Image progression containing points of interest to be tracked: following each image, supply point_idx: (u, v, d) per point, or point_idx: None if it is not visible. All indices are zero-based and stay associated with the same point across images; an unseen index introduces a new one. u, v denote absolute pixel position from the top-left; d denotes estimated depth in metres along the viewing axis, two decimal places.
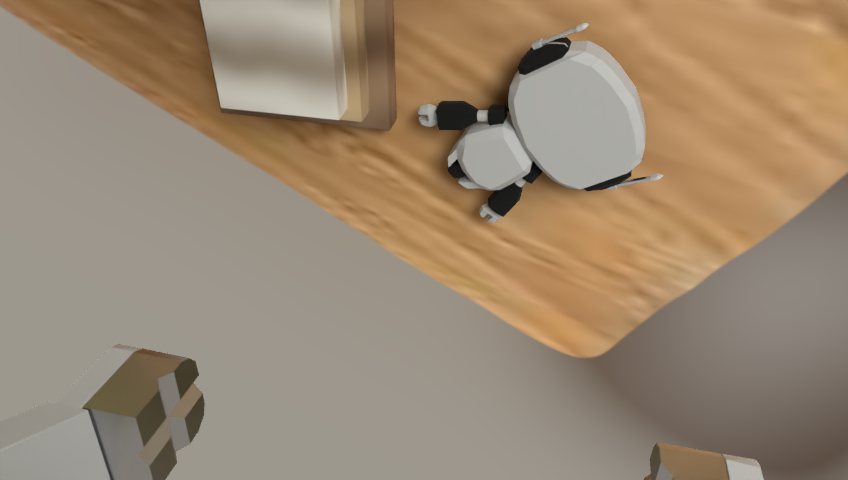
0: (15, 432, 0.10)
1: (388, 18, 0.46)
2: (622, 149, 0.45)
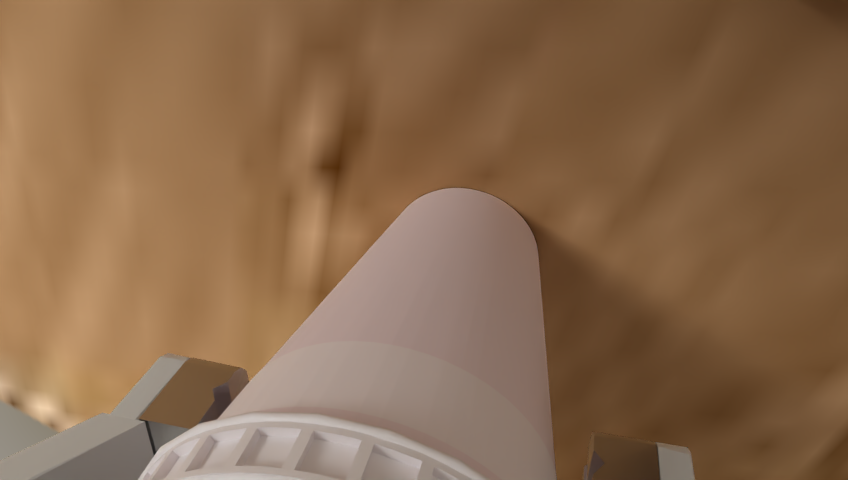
0: (74, 445, 0.10)
1: None
2: None
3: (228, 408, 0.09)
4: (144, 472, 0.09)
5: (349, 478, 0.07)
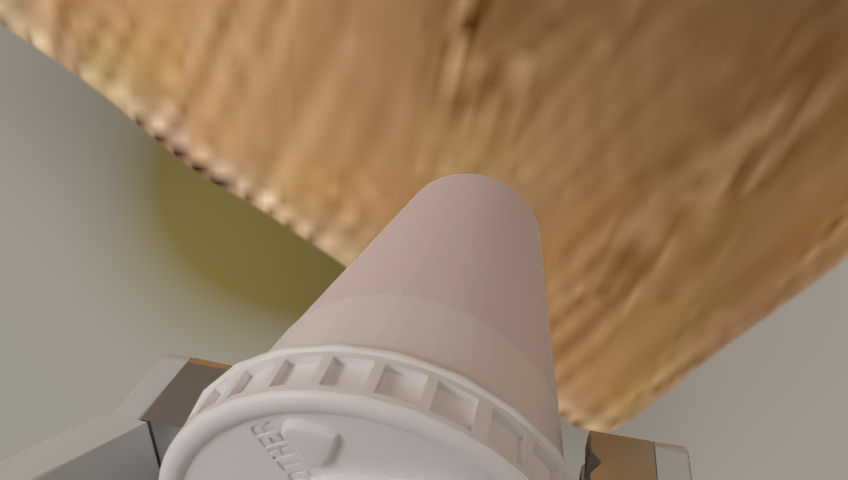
0: (76, 445, 0.10)
1: None
2: None
3: None
4: (190, 415, 0.10)
5: (365, 390, 0.08)
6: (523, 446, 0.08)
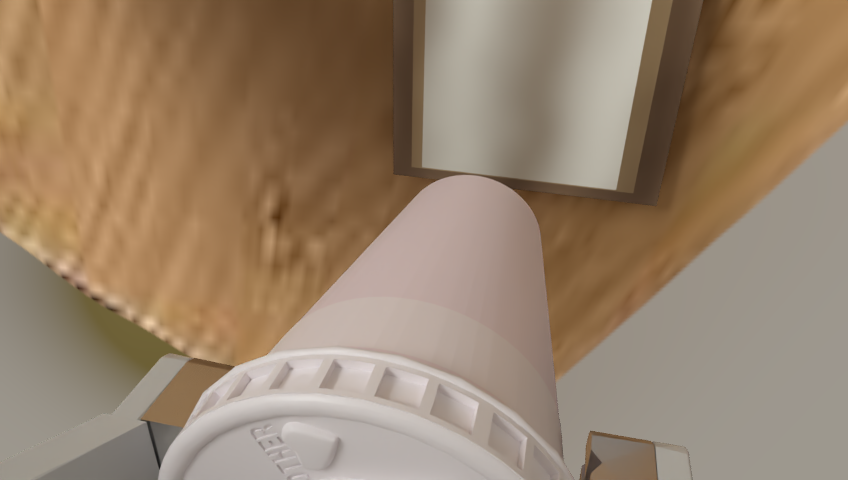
0: (76, 445, 0.10)
1: None
2: None
3: None
4: (190, 417, 0.10)
5: (366, 393, 0.08)
6: (523, 450, 0.08)
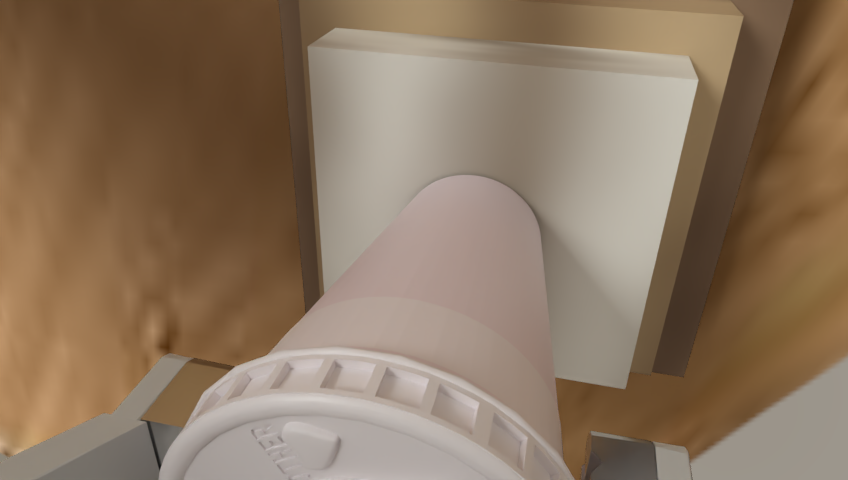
0: (75, 445, 0.10)
1: None
2: None
3: None
4: (190, 417, 0.10)
5: (366, 392, 0.08)
6: (524, 450, 0.08)
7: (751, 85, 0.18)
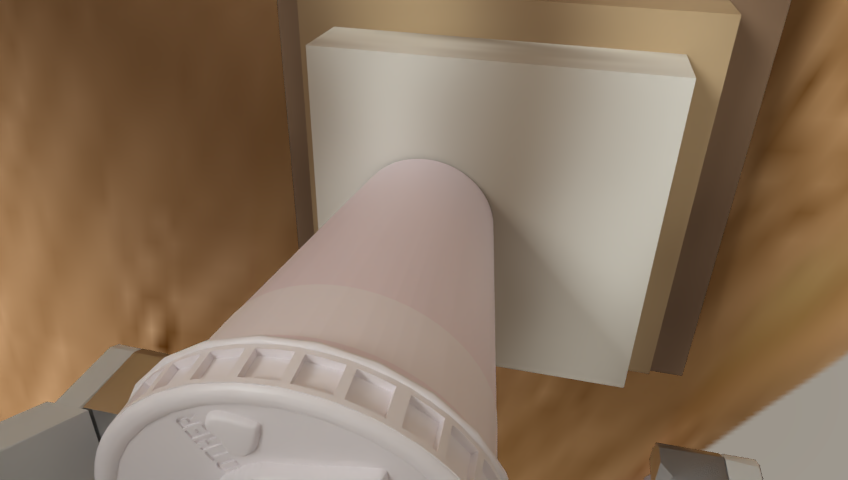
0: (16, 432, 0.10)
1: None
2: None
3: None
4: None
5: (283, 381, 0.08)
6: (441, 430, 0.09)
7: (749, 84, 0.18)
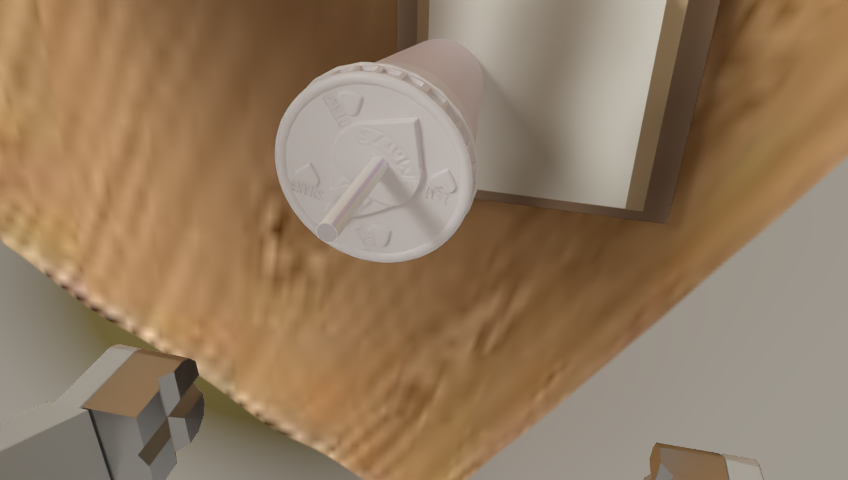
0: (15, 432, 0.10)
1: None
2: None
3: None
4: None
5: (375, 74, 0.19)
6: None
7: (707, 7, 0.28)
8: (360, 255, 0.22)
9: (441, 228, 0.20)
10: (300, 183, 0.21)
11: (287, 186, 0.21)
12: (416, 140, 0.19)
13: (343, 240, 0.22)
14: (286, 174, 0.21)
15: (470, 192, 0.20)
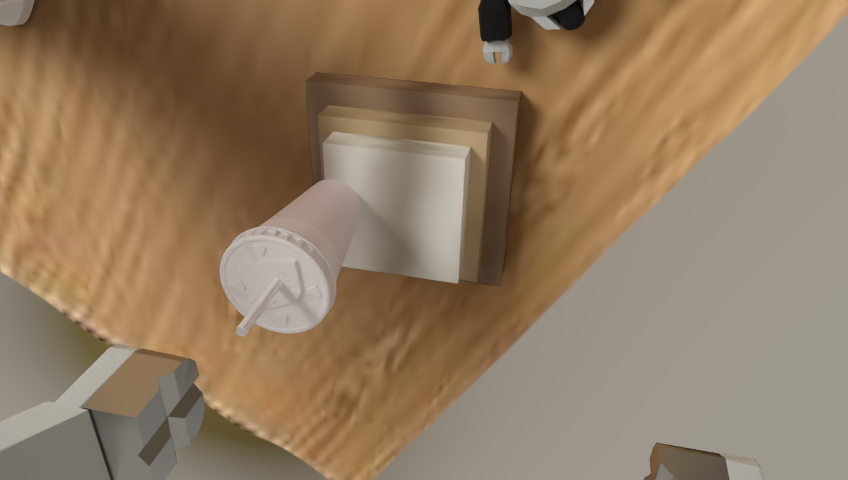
0: (15, 432, 0.10)
1: (391, 85, 0.43)
2: None
3: None
4: None
5: (272, 235, 0.34)
6: (311, 250, 0.34)
7: (506, 154, 0.43)
8: (272, 329, 0.37)
9: (316, 315, 0.36)
10: (235, 290, 0.36)
11: (227, 290, 0.36)
12: (296, 270, 0.34)
13: (262, 320, 0.37)
14: (226, 284, 0.36)
15: (329, 297, 0.35)
